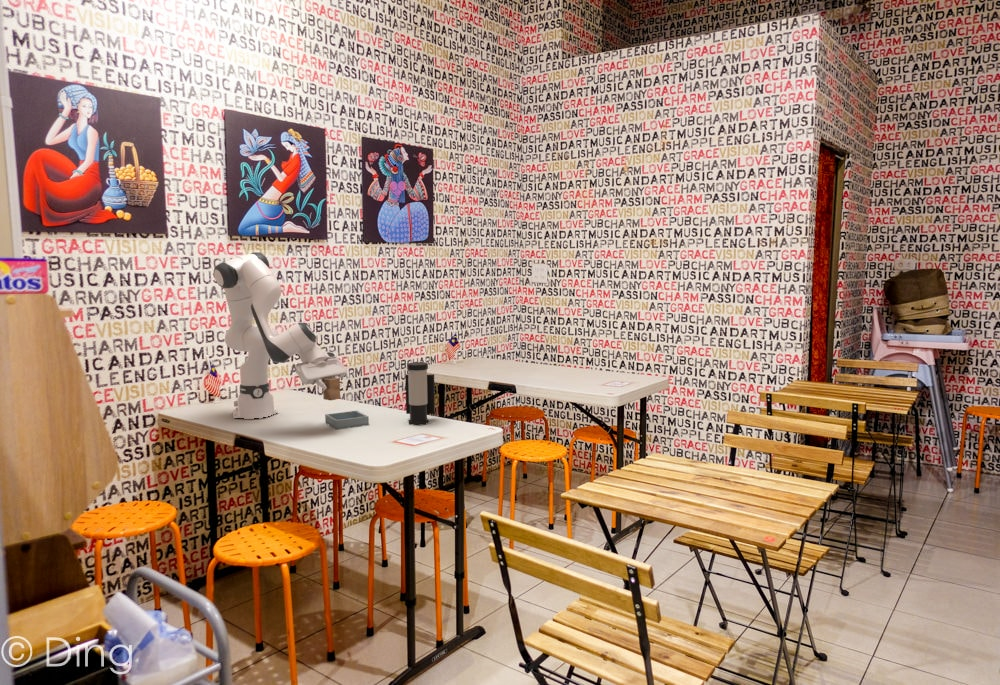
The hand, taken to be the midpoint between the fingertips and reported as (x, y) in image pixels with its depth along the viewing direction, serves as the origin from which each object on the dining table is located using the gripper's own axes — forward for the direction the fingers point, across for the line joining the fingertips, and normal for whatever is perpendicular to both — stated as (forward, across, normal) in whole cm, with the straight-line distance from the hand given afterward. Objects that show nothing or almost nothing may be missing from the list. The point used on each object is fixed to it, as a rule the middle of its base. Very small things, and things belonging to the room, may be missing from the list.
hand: (332, 387), depth 266 cm
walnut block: (+3, 0, +4) cm, 4 cm away
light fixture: (+24, +32, +2) cm, 40 cm away
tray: (+8, +13, +18) cm, 23 cm away
